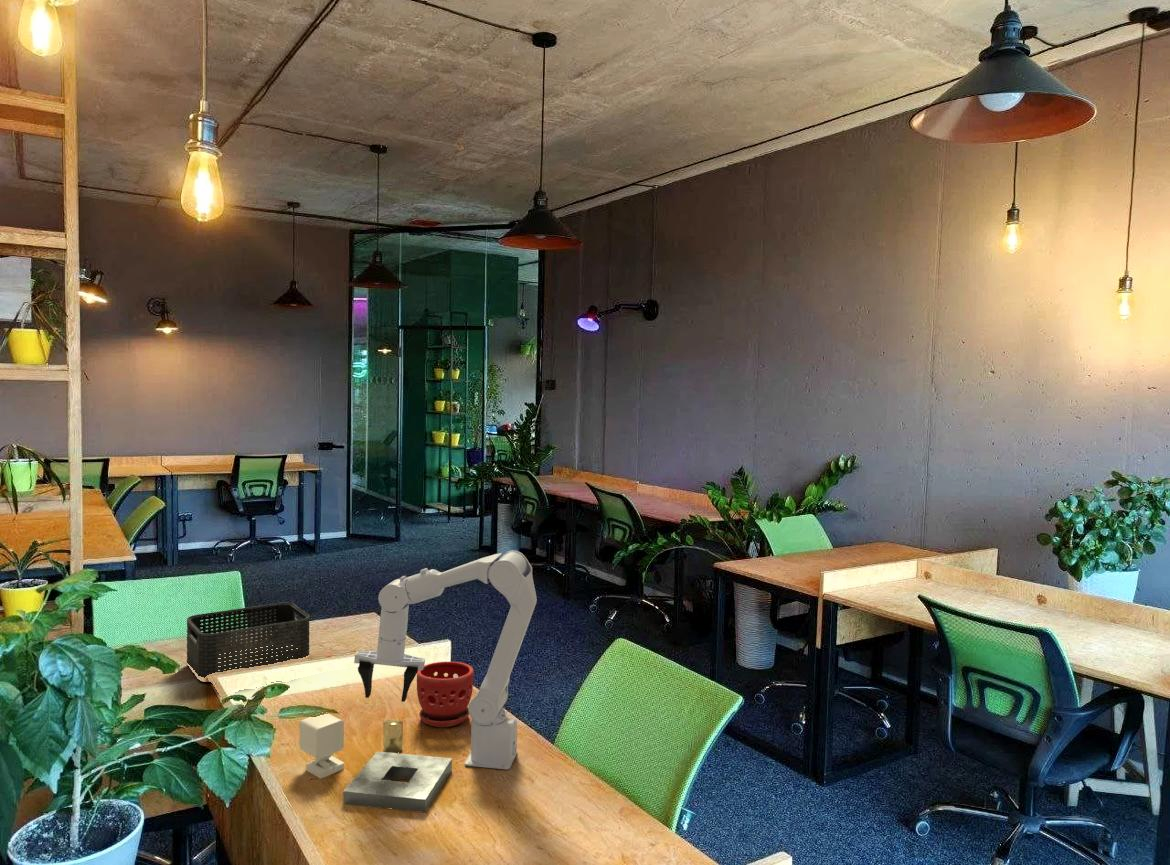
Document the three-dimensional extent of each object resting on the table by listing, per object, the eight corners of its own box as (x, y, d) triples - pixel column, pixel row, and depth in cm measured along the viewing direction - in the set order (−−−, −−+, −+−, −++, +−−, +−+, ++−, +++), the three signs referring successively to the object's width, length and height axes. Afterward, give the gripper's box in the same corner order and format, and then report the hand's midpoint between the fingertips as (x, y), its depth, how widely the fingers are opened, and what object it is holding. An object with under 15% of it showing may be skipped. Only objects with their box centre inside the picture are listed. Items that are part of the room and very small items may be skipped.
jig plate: (451, 770, 164) (451, 758, 164) (425, 812, 148) (425, 799, 148) (377, 763, 166) (377, 751, 166) (343, 803, 151) (343, 791, 150)
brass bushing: (405, 746, 174) (405, 719, 173) (398, 755, 170) (398, 728, 169) (387, 745, 174) (387, 718, 174) (380, 753, 170) (380, 726, 170)
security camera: (326, 756, 169) (326, 710, 168) (346, 768, 164) (346, 720, 163) (299, 768, 164) (299, 720, 163) (318, 779, 159) (318, 731, 158)
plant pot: (481, 724, 186) (481, 674, 185) (425, 735, 179) (426, 683, 178) (462, 703, 197) (462, 655, 196) (409, 713, 191) (409, 664, 190)
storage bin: (290, 644, 236) (290, 599, 235) (313, 664, 221) (313, 616, 220) (184, 664, 218) (183, 616, 217) (201, 687, 203) (200, 635, 202)
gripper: (429, 633, 175) (423, 693, 176) (362, 626, 174) (356, 686, 175) (423, 645, 168) (417, 707, 169) (354, 637, 167) (348, 700, 168)
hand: (386, 697), depth 172 cm, fingers open, 7 cm apart
